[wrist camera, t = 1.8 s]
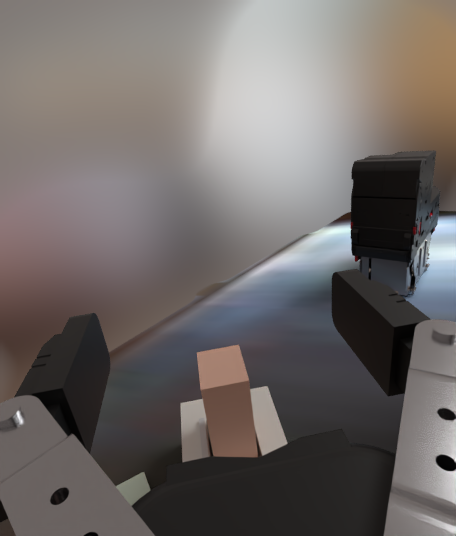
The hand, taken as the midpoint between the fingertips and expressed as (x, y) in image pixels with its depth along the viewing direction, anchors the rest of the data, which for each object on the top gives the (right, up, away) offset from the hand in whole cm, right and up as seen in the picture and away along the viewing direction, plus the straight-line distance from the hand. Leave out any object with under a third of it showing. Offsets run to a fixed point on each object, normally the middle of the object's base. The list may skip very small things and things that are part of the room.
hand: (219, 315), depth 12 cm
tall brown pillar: (+1, -20, +25) cm, 32 cm away
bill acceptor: (+34, -1, +61) cm, 70 cm away
